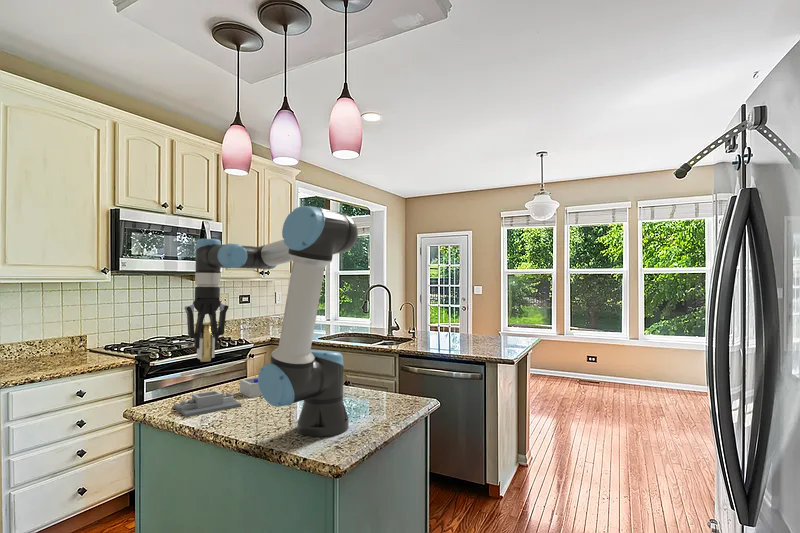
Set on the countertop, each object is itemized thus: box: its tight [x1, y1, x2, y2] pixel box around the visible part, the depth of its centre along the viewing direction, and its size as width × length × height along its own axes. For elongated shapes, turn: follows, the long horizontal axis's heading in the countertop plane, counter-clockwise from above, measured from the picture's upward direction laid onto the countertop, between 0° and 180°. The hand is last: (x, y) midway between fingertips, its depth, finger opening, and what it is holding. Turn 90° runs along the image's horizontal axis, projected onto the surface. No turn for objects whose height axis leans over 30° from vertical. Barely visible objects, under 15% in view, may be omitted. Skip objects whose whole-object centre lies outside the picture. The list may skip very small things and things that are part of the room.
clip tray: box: [239, 376, 263, 398], centre depth 171 cm, size 10×18×5 cm, turn 132°
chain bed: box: [173, 390, 242, 418], centre depth 150 cm, size 14×18×4 cm
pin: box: [199, 323, 213, 363], centre depth 140 cm, size 3×3×12 cm
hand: (205, 357), depth 140 cm, fingers closed on pin, 3 cm apart
